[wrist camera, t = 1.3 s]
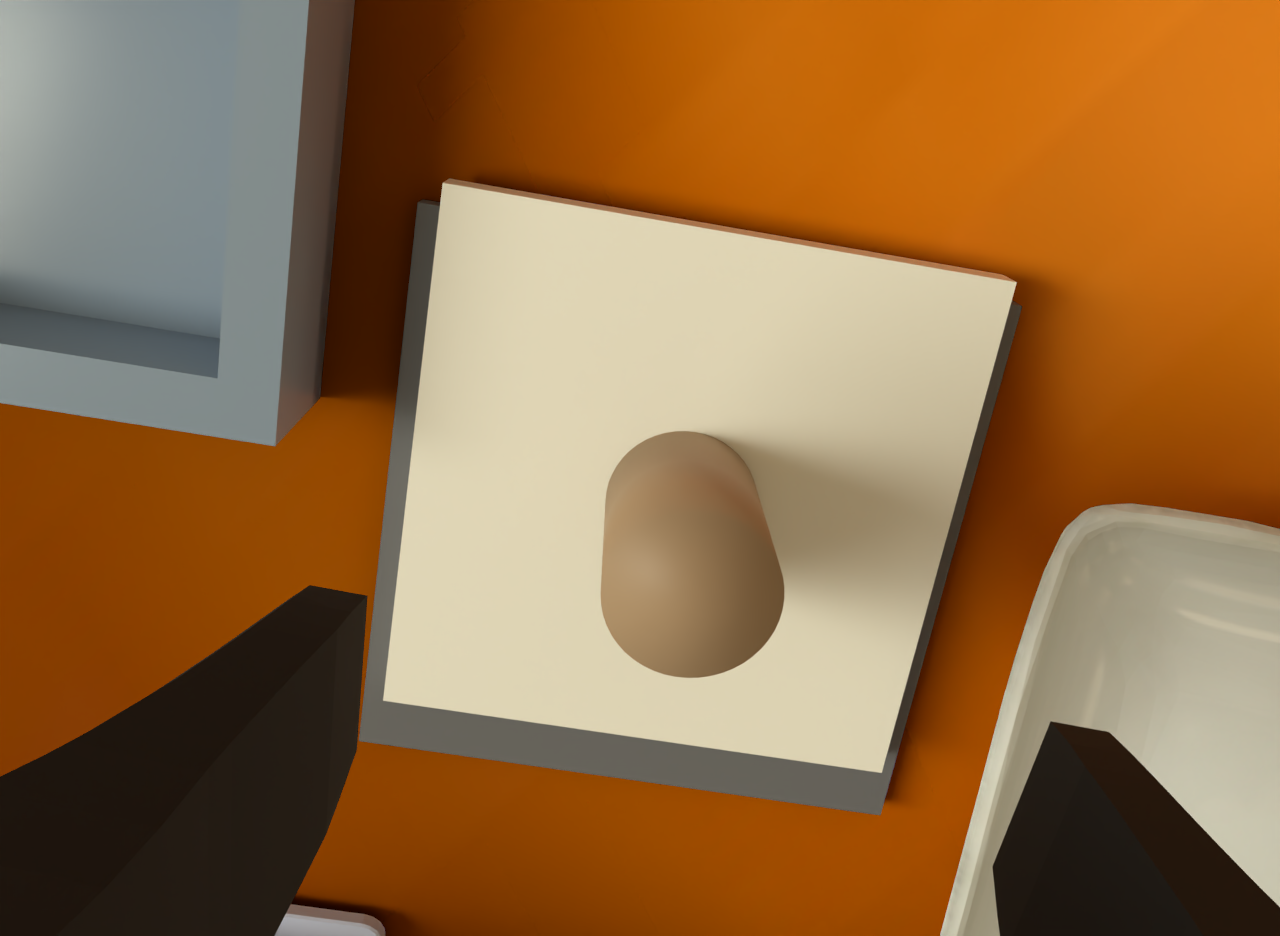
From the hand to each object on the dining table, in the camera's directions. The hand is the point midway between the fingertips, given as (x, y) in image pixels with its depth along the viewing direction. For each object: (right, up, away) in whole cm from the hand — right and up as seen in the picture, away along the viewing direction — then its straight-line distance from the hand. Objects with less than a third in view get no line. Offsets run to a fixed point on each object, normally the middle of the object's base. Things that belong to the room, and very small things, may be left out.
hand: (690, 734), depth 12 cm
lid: (0, +2, +10) cm, 10 cm away
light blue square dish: (-10, +9, +8) cm, 16 cm away
